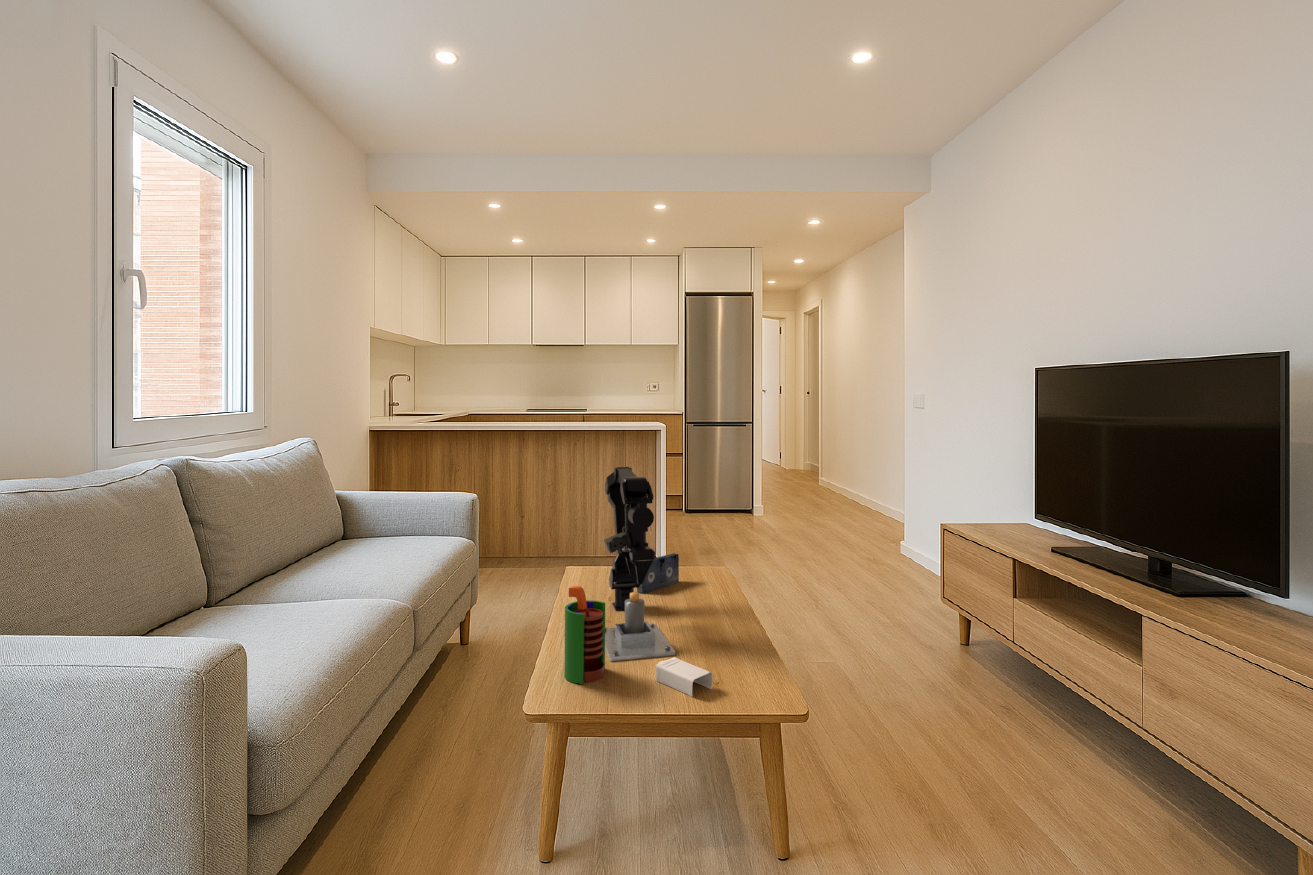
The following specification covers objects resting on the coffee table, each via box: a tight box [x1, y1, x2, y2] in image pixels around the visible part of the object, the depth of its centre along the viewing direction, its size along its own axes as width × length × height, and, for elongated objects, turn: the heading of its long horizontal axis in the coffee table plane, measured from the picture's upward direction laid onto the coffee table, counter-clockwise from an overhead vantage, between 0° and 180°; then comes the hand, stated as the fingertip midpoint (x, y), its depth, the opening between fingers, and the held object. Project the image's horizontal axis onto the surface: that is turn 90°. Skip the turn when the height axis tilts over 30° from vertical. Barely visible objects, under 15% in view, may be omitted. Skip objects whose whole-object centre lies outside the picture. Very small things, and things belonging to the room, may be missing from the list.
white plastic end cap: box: [655, 656, 713, 697], centre depth 145 cm, size 6×13×4 cm, turn 44°
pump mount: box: [605, 621, 676, 662], centre depth 169 cm, size 20×16×4 cm
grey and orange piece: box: [624, 591, 645, 634], centre depth 168 cm, size 5×5×12 cm
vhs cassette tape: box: [636, 552, 680, 595], centre depth 219 cm, size 18×3×10 cm, turn 136°
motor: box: [563, 585, 606, 685], centre depth 149 cm, size 10×9×20 cm
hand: (636, 580), depth 180 cm, fingers open, 9 cm apart
